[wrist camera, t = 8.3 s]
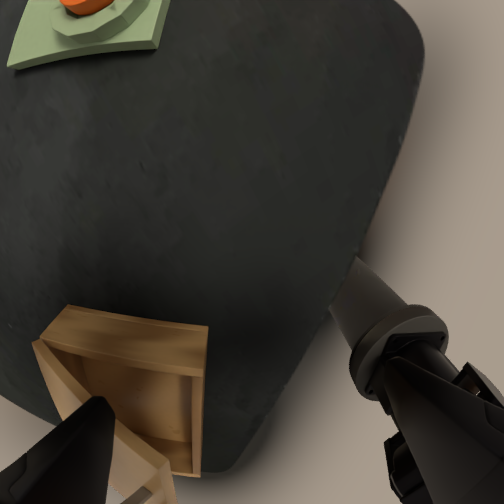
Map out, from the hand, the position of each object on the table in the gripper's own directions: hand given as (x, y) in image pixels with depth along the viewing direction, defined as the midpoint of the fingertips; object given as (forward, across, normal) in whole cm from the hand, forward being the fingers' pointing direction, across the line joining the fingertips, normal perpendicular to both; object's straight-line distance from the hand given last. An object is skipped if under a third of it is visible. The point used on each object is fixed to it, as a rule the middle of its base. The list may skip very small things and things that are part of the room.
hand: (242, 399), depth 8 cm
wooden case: (+12, +10, +10) cm, 19 cm away
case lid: (+4, +11, +10) cm, 15 cm away
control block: (+12, +7, -20) cm, 24 cm away
